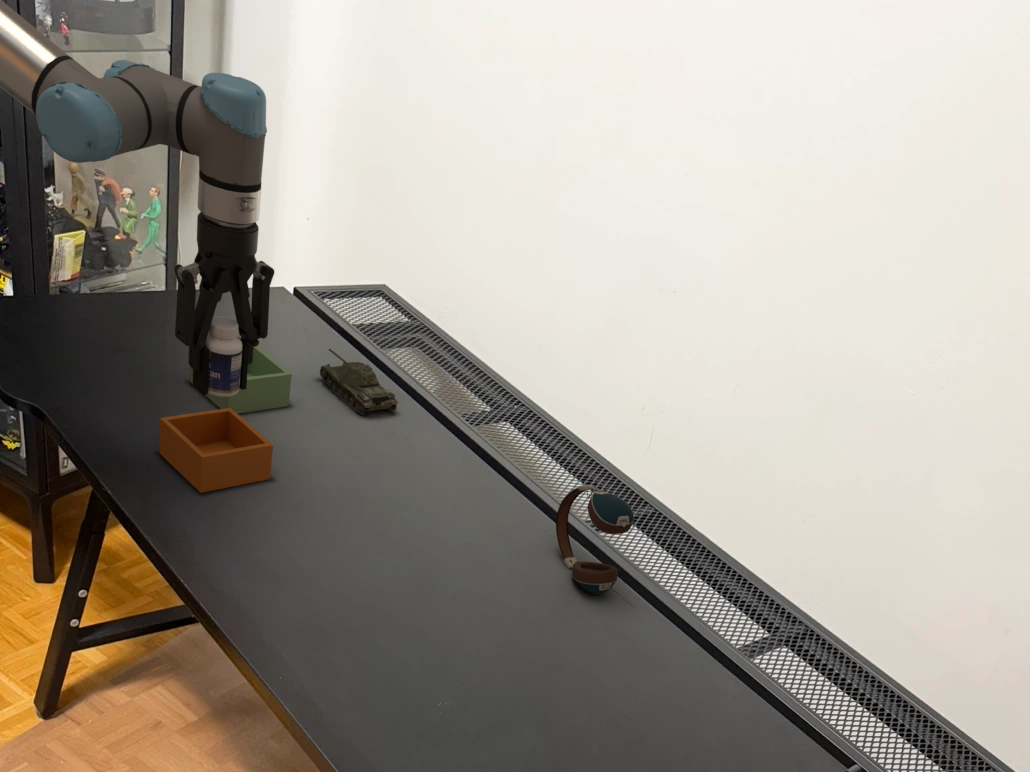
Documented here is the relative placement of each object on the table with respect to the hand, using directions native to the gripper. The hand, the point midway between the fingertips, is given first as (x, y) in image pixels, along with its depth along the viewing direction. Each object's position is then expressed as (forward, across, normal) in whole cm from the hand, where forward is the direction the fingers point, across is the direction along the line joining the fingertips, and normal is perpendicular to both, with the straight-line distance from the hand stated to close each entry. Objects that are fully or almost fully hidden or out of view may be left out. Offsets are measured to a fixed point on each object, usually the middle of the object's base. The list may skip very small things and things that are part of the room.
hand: (219, 387), depth 144 cm
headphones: (+13, +35, -48) cm, 60 cm away
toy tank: (+13, +36, +14) cm, 41 cm away
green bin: (+13, +16, +19) cm, 28 cm away
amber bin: (+13, 0, 0) cm, 13 cm away
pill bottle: (0, 0, 0) cm, 0 cm away
